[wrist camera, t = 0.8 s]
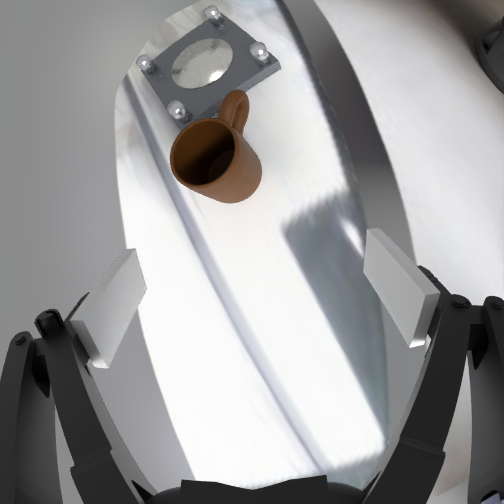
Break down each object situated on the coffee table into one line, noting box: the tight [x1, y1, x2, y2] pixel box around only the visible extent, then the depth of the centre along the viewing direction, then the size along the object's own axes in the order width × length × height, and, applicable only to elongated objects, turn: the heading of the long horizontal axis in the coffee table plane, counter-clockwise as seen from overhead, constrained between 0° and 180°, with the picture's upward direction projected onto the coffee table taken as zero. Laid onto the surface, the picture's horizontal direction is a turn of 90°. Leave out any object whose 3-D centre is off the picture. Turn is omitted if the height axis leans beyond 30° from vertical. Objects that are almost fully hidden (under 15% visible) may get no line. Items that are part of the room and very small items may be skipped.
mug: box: [170, 89, 262, 203], centre depth 30 cm, size 12×8×9 cm, turn 157°
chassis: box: [136, 5, 281, 131], centre depth 34 cm, size 16×16×5 cm
